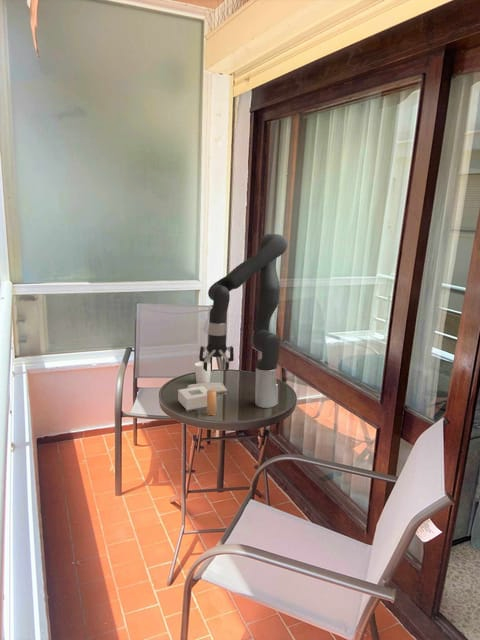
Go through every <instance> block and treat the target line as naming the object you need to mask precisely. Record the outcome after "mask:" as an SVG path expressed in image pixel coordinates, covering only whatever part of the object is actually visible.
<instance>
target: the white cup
mask: <svg viewBox="0 0 480 640" xmlns="http://www.w3.org/2000/svg"><path fill="white" fill-rule="evenodd" d="M211 364H212V363H211V362H210V361H207V371H205V370H204V368H203V365H204V362H203V361H198V362H196V363H194V369H195V370H194V372H195V378H196V379H195V380H196V383H195V384H199V383H208V382H211V371H212V370H211V367H212V366H211Z"/></svg>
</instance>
